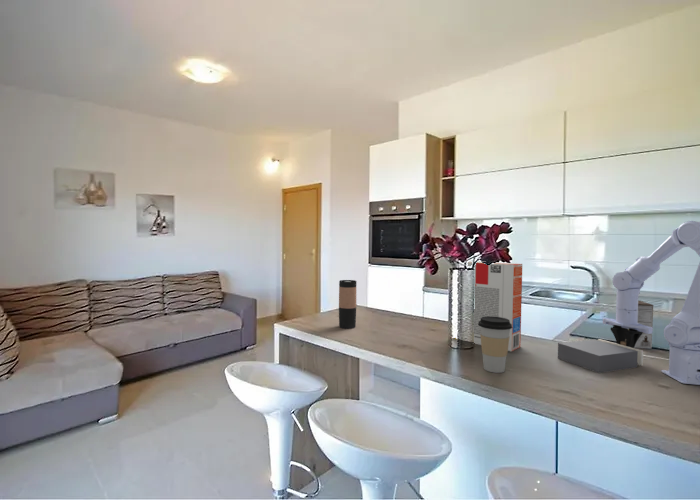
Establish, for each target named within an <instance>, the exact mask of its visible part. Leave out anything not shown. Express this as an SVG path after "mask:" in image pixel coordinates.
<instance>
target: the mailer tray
mask: <svg viewBox="0 0 700 500" xmlns="http://www.w3.org/2000/svg"><path fill="white" fill-rule="evenodd" d="M597 340H599V341H603V342H606V343H610V344H614V345H617V346H621V347H624V348H628V349H632V350H635V351H638V357H637V366H639V367H641V366H644V364H643V362H644V350H641V349H639V348H631V347H627V346H626V341H621V342H620V344H617V342H612V341H608V340H605V339H600V338H598V339H597Z"/></svg>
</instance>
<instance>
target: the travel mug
mask: <svg viewBox="0 0 700 500" xmlns="http://www.w3.org/2000/svg"><path fill="white" fill-rule="evenodd" d="M357 283H358V282H357V280H355V279H342V280H339V282H338V285H339V286H338V325H339V326H338V327H339V328H340V329H350V330H351V329H355V328H356V325H357V323H356V322H357Z"/></svg>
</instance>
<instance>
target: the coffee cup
mask: <svg viewBox="0 0 700 500" xmlns="http://www.w3.org/2000/svg"><path fill="white" fill-rule="evenodd" d="M478 325H479V326H480V328H481V334H480V335H481V345H480V346H481V353H482V362H483V363H482V364H483V369H484V370H485V371H487V372H489V373H497V374H501V373H504V372H505V371H506V370H505V369H506V364H507V363H506V362H507V356H508V352H509V351H508V345H509V333H510V329H511V328H512V324H511V323H510V320H509V319H506V318H502V317H492V316H487V317H482V318H481V321H479V323H478Z"/></svg>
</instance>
